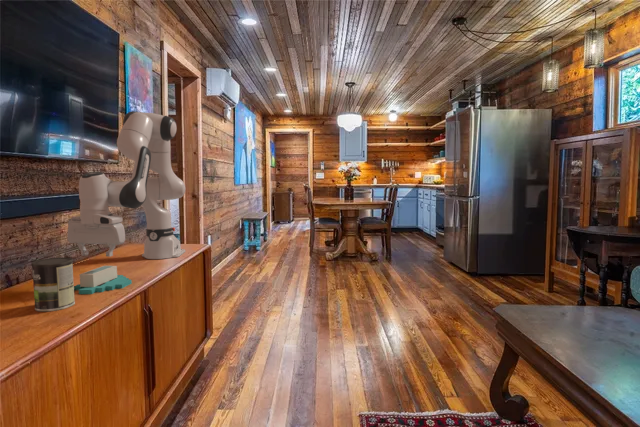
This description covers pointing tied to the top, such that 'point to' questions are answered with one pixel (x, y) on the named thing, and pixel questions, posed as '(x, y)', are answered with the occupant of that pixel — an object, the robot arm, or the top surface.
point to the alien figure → (105, 285)
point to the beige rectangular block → (98, 276)
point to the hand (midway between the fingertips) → (97, 255)
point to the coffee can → (53, 284)
